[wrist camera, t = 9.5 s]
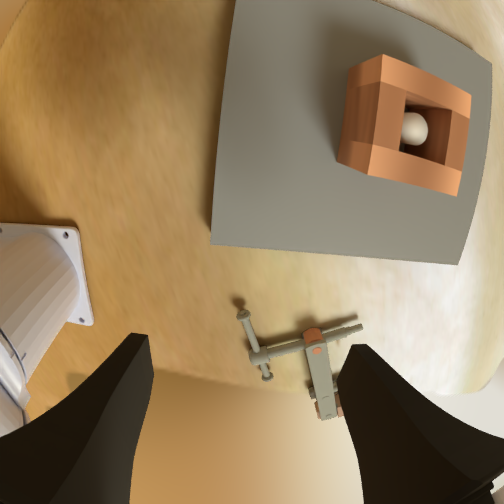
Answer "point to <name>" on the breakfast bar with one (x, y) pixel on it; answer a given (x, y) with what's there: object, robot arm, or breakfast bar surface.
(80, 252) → the robot arm
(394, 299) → the breakfast bar surface
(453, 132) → the collar block
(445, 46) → the pin board
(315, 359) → the clamp
